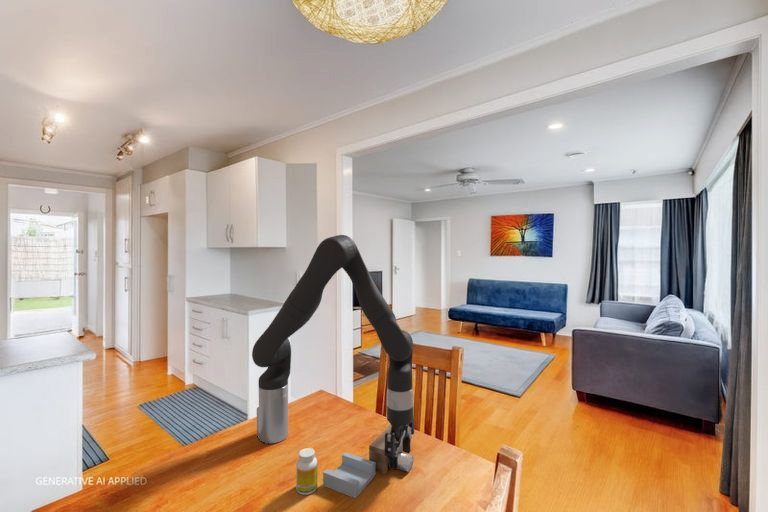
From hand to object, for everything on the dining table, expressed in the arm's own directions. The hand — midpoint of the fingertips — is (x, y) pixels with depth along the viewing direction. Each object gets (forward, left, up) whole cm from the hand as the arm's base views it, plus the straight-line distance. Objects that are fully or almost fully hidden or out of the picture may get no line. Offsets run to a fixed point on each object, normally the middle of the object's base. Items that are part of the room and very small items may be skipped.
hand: (400, 459), depth 99 cm
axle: (-3, 0, -3) cm, 4 cm away
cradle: (-10, -11, -3) cm, 15 cm away
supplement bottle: (-18, -19, -3) cm, 26 cm away
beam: (-5, +5, -3) cm, 8 cm away
